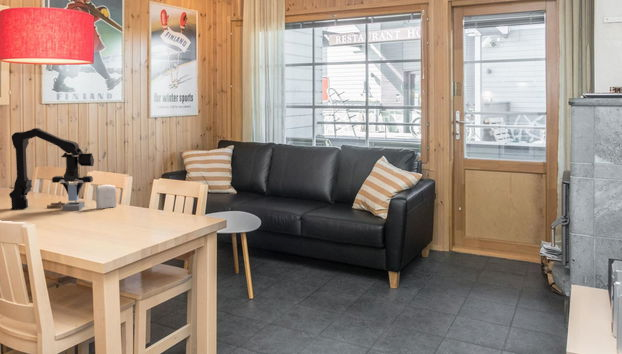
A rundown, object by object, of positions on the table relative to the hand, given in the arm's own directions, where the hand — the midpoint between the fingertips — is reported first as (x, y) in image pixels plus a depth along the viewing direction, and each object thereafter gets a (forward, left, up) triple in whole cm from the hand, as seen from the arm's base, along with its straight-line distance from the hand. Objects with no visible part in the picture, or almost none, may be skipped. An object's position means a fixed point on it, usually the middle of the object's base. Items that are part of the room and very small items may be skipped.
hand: (73, 195), depth 268 cm
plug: (0, 0, -2) cm, 3 cm away
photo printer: (+16, +1, -7) cm, 18 cm away
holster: (-9, +9, -7) cm, 14 cm away
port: (0, 0, -7) cm, 7 cm away
